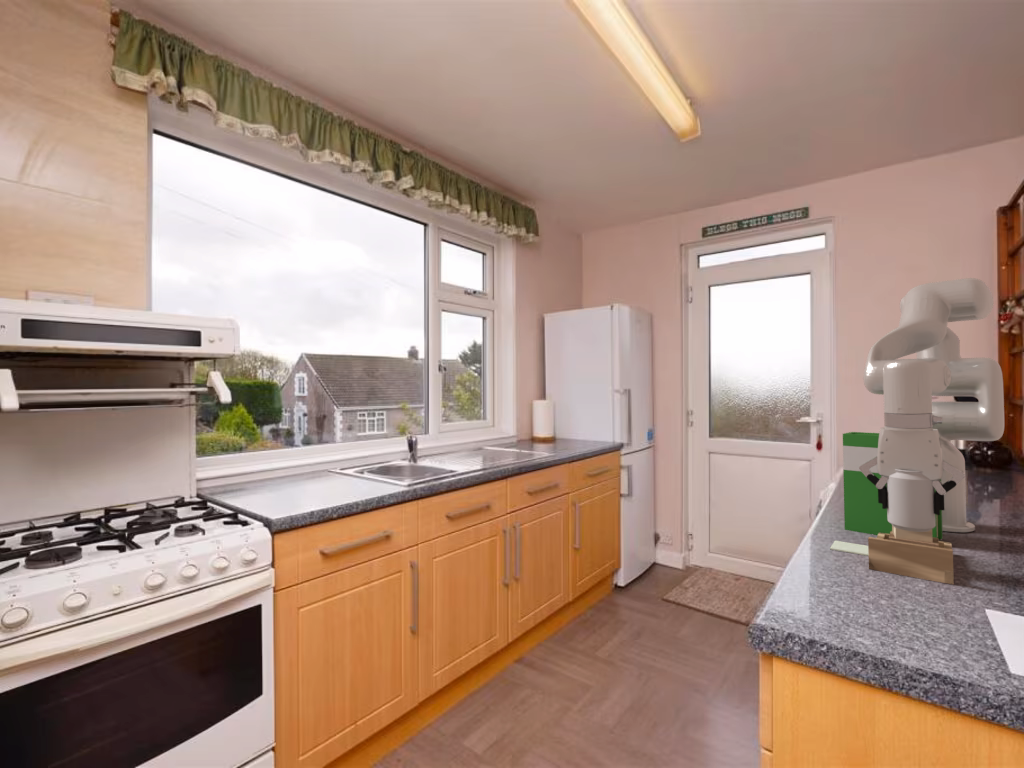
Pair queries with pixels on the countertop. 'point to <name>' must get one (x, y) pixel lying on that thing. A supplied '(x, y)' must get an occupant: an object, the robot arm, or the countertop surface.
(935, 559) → the frame
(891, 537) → the offcut large
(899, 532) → the offcut small
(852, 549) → the mat
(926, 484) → the can
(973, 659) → the countertop surface
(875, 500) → the hardback book
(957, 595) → the countertop surface
